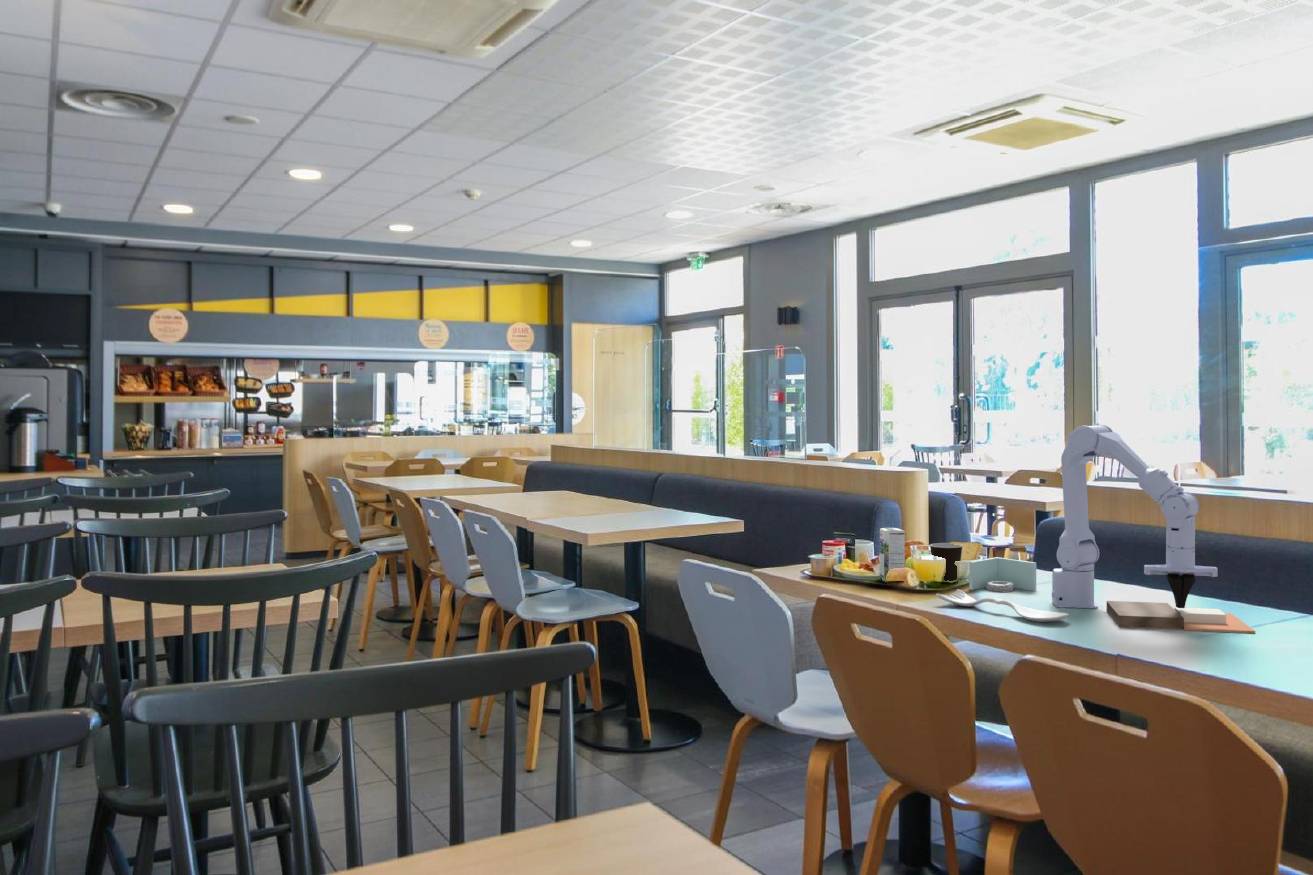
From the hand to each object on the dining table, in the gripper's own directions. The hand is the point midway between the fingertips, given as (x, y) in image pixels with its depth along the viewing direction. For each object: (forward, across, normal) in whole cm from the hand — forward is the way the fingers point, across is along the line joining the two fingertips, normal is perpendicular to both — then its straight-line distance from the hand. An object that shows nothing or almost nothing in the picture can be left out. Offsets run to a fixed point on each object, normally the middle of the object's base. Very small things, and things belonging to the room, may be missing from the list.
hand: (1180, 607), depth 223 cm
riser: (+3, -8, 0) cm, 8 cm away
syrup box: (+3, -64, +39) cm, 75 cm away
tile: (+3, +4, 0) cm, 5 cm away
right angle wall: (+4, -36, +31) cm, 47 cm away
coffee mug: (+3, -50, +42) cm, 65 cm away
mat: (+3, +6, 0) cm, 7 cm away
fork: (+4, -38, +1) cm, 38 cm away
